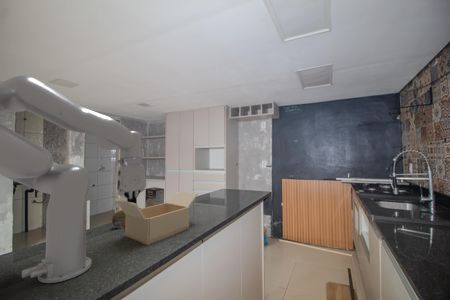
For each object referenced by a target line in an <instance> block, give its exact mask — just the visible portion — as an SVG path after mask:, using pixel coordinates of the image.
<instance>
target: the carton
mask: <svg viewBox="0 0 450 300" xmlns="http://www.w3.org/2000/svg"><path fill="white" fill-rule="evenodd" d="M140 210H141V211H142V213H143V214H144V216H145V217H146V220H143V219H140V218H137V217H133V216H130V215H126V218H125V228H124V230H125V231H124V233H125V234H124V236H125V238H129V239H131V240H133V241H136V242H139V243H141V244H143V245H145V246H151V245H152V244H155V243H157V242H159V241H162V240H165V239H167V238H169V237H171V236H174V235H177V234H179V233H181V232H183V231H186V230H190V207H186V206H181V205H176V204H171V203H169V202H164V203H163V204H159V205H155V206H150V207H146V208H145V207H143V208H142V207H141V209H140Z"/></svg>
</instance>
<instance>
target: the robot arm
mask: <svg viewBox="0 0 450 300" xmlns="http://www.w3.org/2000/svg"><path fill="white" fill-rule="evenodd" d="M25 111H28V112H29V113H32V114H33V115H35V116H37V117H39V118H41V119H44V120H45V121H48V122H49V123H51V124H53V125H56V126H57V127H59V128H62V129H64V130H67V131H71V132H75V133H83V134H87V135H92V136H95V139H94V142H95V144H96V146H98V147H99V148H100V149H102V150H106V151H110V150H111V151H113V150H119V151H120V152H119V153H120V154H119V155H120V156H119V157H120V158H119V159H117V161H116V163H117V164H120V165H119V166H118V170H117V175H116V176H117V178H116V188H117V189H116V190H117V195H118V196H121V197H122V196H124V197H125V198H126V199H127V202H132V203H136V204H137V205H138V203H137V202H138V201H137V198H138V197H139V195H140V193H142V192H144V191H146V189H147V188H146V187H147V178H146V171H145V167H144V164H142V144H141V143H142V142H141V141H142V139H141V138H142V137H141V133H140V131H137V130H130V129H129V128H127V127H126V126H125V125H123V124H122V123H120V122H119V121H117V120H116V119H114V118H112V117H109V116H108V115H106V114H102V113H100V112H97V111H95V110H92V109H89V108H87V107H85V106H81V104H78V102H75V101H74V100H72V99H70V98H69V97H67V96H65V95H64V94H62V93H61V92H59V91H58V90H56V89H54V88H52V87H51V86H49V85H48V84H46V83H44V82H43V81H42V80H39V79H38V78H36V77H32V76H30V75H17V76H13V77H10V78H8V79H6V80H2V81H0V115H4V114H12V113H19V112H25ZM0 175H1V176H2V177H4V178H6V179H9V180H11V181H14V182H16V183H17V184H21V185H23V186H26V187H28V188H30V189H33V190H35V191H38V192H40V193H44V194H48V195H50V197H49V200H48V203H47V207H46V208H47V209H46V218H45V219H46V227H45V229H46V230H45V258H42V259H41V262H40V263H38V264H37V265H35V266H33V267H29V268H26V269H23V270H21V278H22V279H24V278H27V277H30V278H31V279H32V278H36V277H37V281H38V282H40V283H43V284H53V283H59V282H64V281H69V280H70V279H73V278H75V277H77V276H80V275H82V274H83V273H85V272H87V271H88V270H89V269H90V268H91V266H92V265H93V261H92V258H90V257H89V256H87V223H88V222H87V217H88V216H87V215H88V213H87V211H88V210H87V208H88V196H89V192H90V187H91V175H90V174H89V172H88V170H87V169H85V168H84V167H82V166H80V165H78V164H71V163H70V164H67V163H66V164H65V163H63V164H62V163H61V164H59V163H57V162H55V161H54V157H53V155H52V154H51V152H50V151H49V150H48V149H47V148H45V147H44V146H41V145H39V144H38V143H35V142H34V141H31V140H30V139H28V138H27V137H25V136H23V135H21V134H19V133H18V132H16V131H15V130H13V129H11V128H10V127H8V126H7V125H5V124H4V123H2V122H1V121H0Z"/></svg>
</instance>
